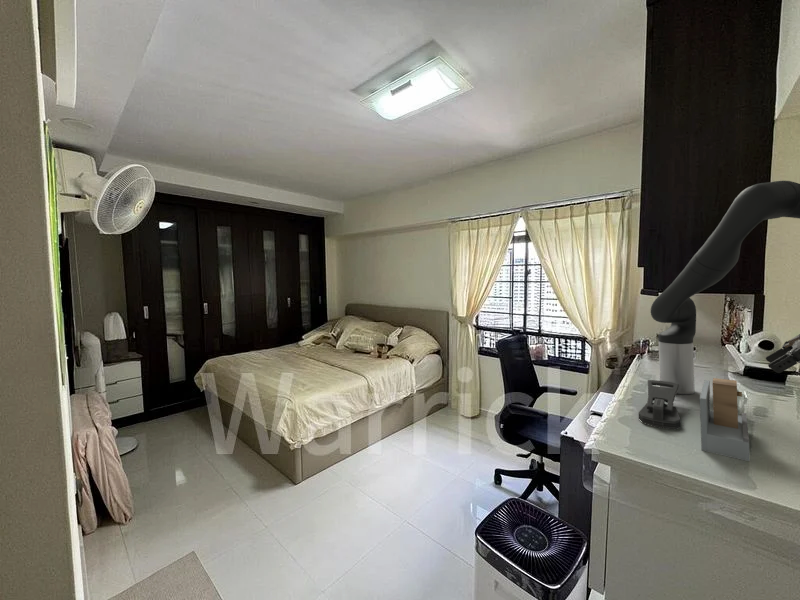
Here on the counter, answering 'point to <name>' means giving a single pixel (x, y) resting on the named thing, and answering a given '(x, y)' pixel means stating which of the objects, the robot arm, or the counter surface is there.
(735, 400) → the cabinet
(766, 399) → the counter surface
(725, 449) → the board
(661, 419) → the zipper pull
